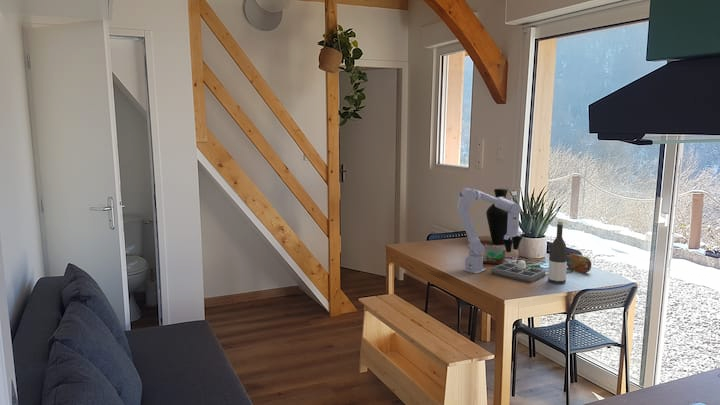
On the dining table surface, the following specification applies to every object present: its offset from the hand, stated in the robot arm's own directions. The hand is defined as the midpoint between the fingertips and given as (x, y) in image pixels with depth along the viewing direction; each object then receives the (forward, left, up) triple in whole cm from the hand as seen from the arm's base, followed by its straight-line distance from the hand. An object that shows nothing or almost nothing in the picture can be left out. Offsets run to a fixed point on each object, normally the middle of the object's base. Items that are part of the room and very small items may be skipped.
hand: (511, 250), depth 267 cm
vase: (+49, +35, -11) cm, 61 cm away
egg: (-3, -7, -9) cm, 12 cm away
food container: (+5, +13, -11) cm, 18 cm away
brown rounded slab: (+23, -26, -11) cm, 36 cm away
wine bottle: (-3, -26, -11) cm, 28 cm away
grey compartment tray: (-6, -7, -10) cm, 14 cm away
